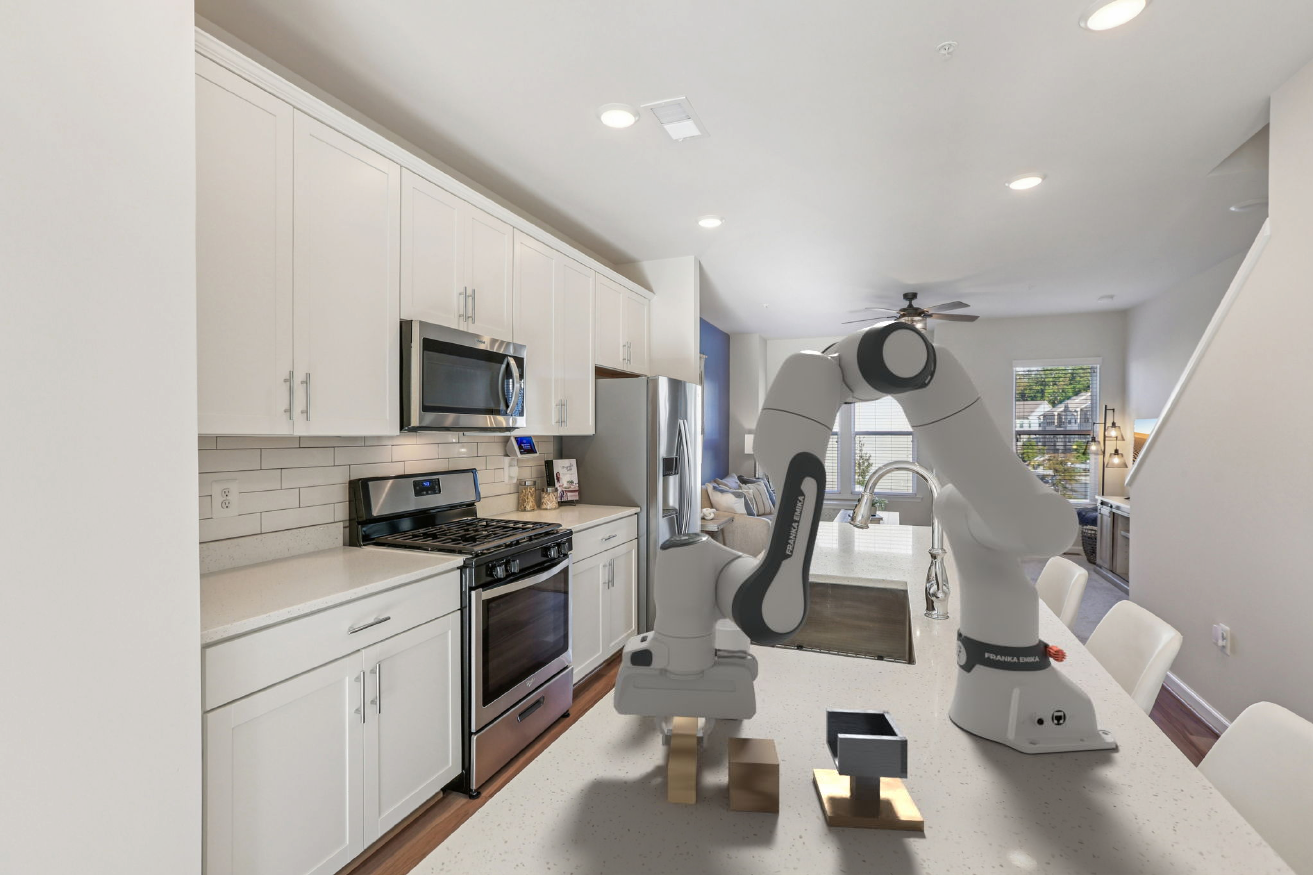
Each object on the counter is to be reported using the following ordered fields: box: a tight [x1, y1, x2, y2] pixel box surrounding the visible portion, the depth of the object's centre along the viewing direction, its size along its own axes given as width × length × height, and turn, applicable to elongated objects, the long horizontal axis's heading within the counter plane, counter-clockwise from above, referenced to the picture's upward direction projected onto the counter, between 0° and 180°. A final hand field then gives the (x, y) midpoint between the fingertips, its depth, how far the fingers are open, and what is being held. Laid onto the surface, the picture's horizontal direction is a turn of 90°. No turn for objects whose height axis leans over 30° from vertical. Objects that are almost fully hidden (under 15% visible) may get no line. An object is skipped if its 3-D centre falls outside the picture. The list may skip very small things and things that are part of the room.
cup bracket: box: [812, 708, 925, 832], centre depth 75 cm, size 11×10×10 cm
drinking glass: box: [716, 619, 751, 657], centre depth 99 cm, size 7×7×15 cm
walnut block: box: [727, 736, 780, 814], centre depth 76 cm, size 6×6×6 cm
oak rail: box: [667, 717, 699, 805], centre depth 85 cm, size 20×4×4 cm, turn 175°
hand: (684, 744), depth 85 cm, fingers open, 3 cm apart
